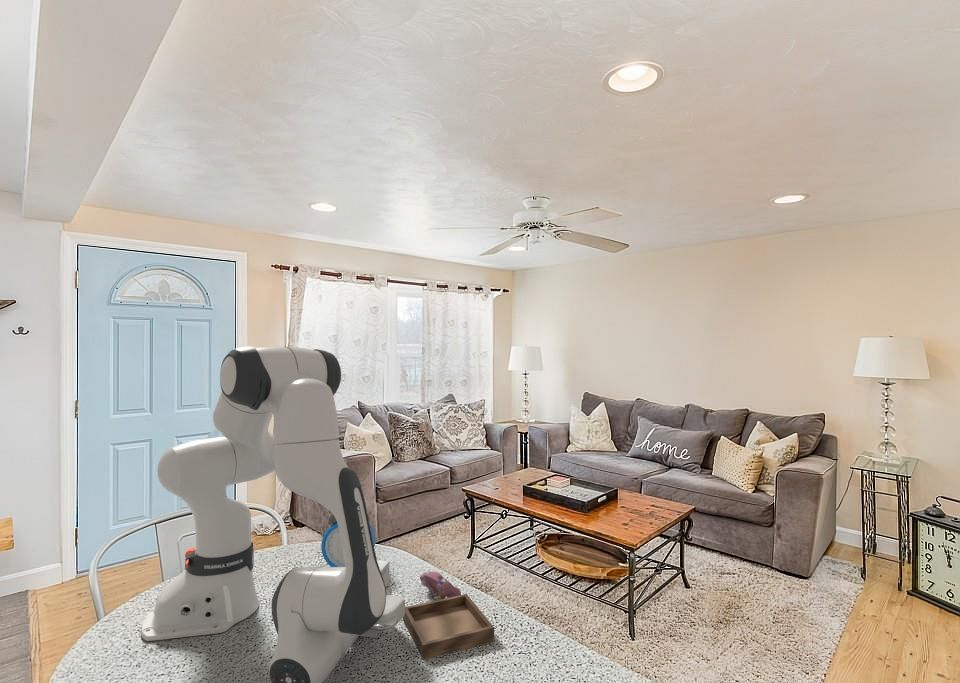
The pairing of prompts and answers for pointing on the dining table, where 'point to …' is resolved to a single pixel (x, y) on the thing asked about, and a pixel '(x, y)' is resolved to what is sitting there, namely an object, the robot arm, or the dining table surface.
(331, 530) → the alarm clock
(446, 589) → the video game controller
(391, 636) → the dining table surface
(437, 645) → the tray
